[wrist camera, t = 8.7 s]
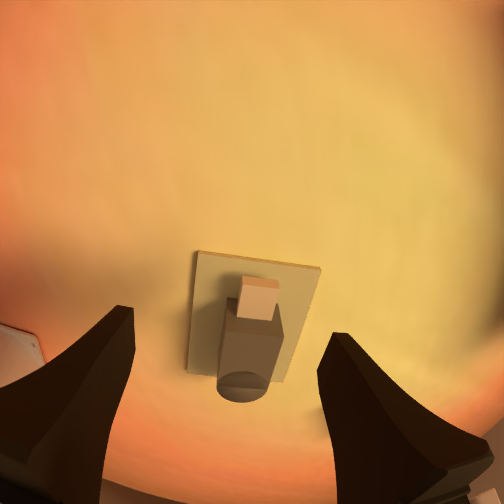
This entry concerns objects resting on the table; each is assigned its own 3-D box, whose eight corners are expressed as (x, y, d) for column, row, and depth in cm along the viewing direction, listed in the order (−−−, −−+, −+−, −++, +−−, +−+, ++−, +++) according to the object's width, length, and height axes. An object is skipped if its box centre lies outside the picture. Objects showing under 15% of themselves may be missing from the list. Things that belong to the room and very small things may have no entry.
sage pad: (282, 378, 26) (282, 382, 26) (187, 369, 25) (187, 372, 25) (320, 267, 21) (321, 270, 21) (198, 250, 21) (198, 253, 20)
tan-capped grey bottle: (259, 370, 25) (262, 404, 22) (216, 366, 25) (214, 400, 21) (286, 273, 21) (294, 304, 18) (232, 266, 21) (231, 297, 18)
